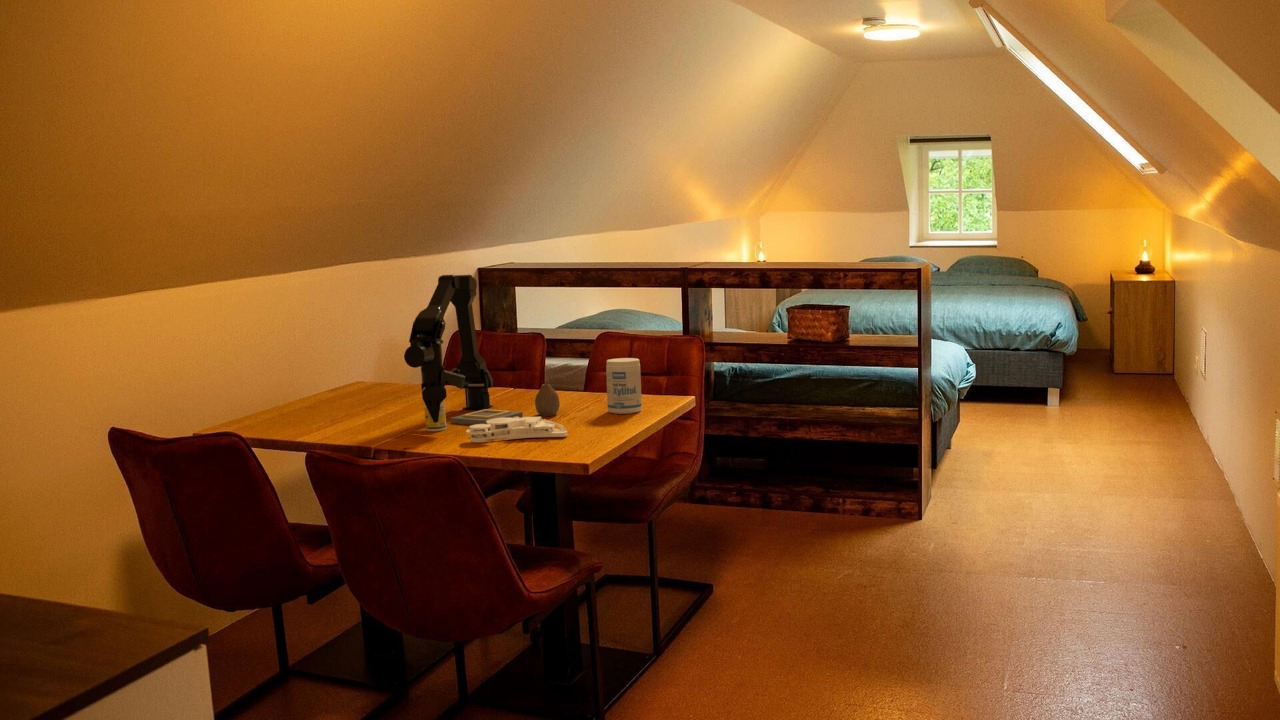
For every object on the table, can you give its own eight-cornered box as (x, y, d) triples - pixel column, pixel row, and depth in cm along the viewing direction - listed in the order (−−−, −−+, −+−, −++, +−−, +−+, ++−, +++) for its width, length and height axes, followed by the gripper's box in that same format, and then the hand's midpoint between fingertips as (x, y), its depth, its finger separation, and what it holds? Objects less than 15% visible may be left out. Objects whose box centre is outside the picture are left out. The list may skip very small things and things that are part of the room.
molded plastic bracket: (559, 441, 275) (558, 423, 274) (462, 443, 279) (461, 425, 278) (578, 424, 297) (577, 408, 297) (488, 426, 301) (487, 410, 301)
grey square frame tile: (451, 423, 306) (450, 415, 305) (484, 414, 317) (484, 407, 317) (489, 426, 298) (489, 418, 298) (522, 417, 310) (522, 410, 309)
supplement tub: (614, 415, 305) (611, 362, 303) (603, 411, 314) (600, 359, 312) (647, 412, 308) (644, 359, 307) (635, 407, 317) (633, 356, 315)
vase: (556, 417, 307) (554, 386, 306) (532, 417, 308) (530, 386, 307) (563, 413, 314) (561, 382, 313) (539, 413, 315) (537, 383, 314)
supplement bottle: (427, 428, 299) (424, 392, 298) (447, 427, 300) (444, 391, 298) (424, 432, 294) (422, 395, 293) (445, 431, 294) (443, 394, 293)
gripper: (463, 364, 287) (468, 423, 289) (460, 356, 305) (464, 412, 307) (420, 367, 285) (424, 427, 287) (419, 359, 303) (423, 416, 305)
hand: (435, 420), depth 296 cm, fingers closed on supplement bottle, 5 cm apart
